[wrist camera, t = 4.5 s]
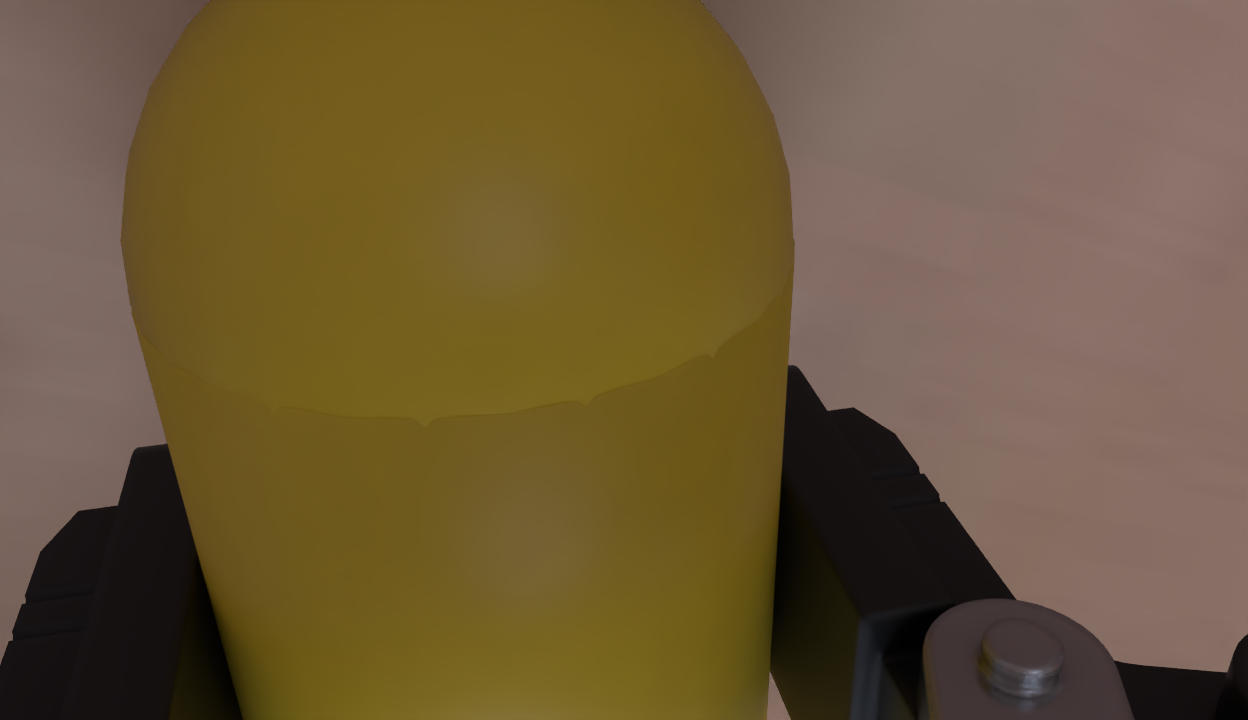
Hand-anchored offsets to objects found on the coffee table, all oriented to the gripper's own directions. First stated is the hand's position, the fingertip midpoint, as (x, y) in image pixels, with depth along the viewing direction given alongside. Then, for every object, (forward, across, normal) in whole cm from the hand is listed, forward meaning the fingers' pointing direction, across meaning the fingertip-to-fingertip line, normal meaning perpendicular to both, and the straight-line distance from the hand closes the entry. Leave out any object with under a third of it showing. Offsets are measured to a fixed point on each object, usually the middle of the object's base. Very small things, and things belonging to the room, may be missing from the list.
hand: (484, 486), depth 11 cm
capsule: (0, -2, 0) cm, 2 cm away
